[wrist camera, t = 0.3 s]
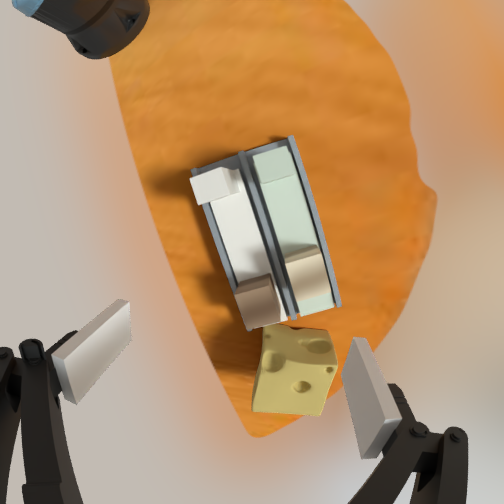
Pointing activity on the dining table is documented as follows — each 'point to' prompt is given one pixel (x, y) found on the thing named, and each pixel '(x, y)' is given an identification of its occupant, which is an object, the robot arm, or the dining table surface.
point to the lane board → (269, 222)
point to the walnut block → (258, 301)
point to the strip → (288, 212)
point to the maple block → (307, 273)
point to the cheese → (294, 371)
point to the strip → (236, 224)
